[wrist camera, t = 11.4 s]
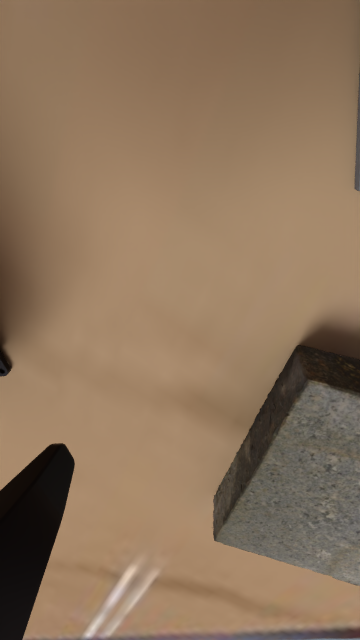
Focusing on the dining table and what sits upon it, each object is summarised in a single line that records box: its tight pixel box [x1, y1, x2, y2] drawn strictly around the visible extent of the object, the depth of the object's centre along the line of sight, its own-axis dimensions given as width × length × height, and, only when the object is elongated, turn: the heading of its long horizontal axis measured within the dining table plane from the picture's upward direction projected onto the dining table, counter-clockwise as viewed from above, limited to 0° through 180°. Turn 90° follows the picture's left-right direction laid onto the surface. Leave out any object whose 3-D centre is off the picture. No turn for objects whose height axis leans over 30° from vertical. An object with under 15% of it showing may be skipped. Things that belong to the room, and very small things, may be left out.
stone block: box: [213, 345, 360, 586], centre depth 25 cm, size 14×20×5 cm
